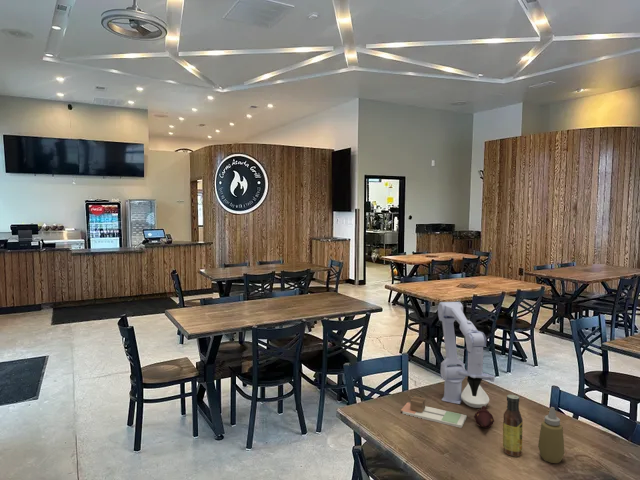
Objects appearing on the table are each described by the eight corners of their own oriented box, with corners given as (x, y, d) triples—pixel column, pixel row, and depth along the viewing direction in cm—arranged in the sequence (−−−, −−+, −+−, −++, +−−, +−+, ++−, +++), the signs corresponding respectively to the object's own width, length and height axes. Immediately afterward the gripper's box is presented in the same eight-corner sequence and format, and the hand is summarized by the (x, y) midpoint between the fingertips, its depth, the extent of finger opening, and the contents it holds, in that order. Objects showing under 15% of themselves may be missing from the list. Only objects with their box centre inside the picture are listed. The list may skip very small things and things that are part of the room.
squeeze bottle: (540, 449, 153) (542, 400, 152) (566, 458, 148) (568, 406, 147) (535, 459, 147) (536, 408, 146) (561, 468, 142) (563, 415, 141)
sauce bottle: (524, 458, 148) (525, 401, 147) (504, 456, 149) (506, 400, 148) (519, 448, 154) (520, 393, 153) (500, 446, 155) (502, 392, 154)
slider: (413, 405, 186) (414, 396, 185) (425, 407, 183) (425, 398, 183) (410, 409, 181) (410, 400, 181) (421, 412, 179) (422, 403, 179)
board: (407, 404, 190) (407, 401, 190) (466, 417, 177) (466, 414, 177) (400, 413, 181) (400, 410, 181) (461, 428, 169) (461, 425, 169)
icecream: (498, 420, 161) (494, 407, 176) (477, 413, 164) (475, 400, 178) (492, 438, 162) (489, 423, 176) (472, 430, 164) (471, 416, 178)
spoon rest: (490, 413, 182) (491, 396, 182) (461, 409, 185) (462, 393, 185) (484, 391, 205) (484, 376, 205) (458, 388, 208) (458, 373, 208)
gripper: (454, 362, 174) (453, 395, 175) (492, 368, 167) (492, 402, 167) (458, 357, 180) (457, 389, 181) (495, 363, 173) (494, 396, 173)
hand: (474, 395), depth 174 cm, fingers closed
